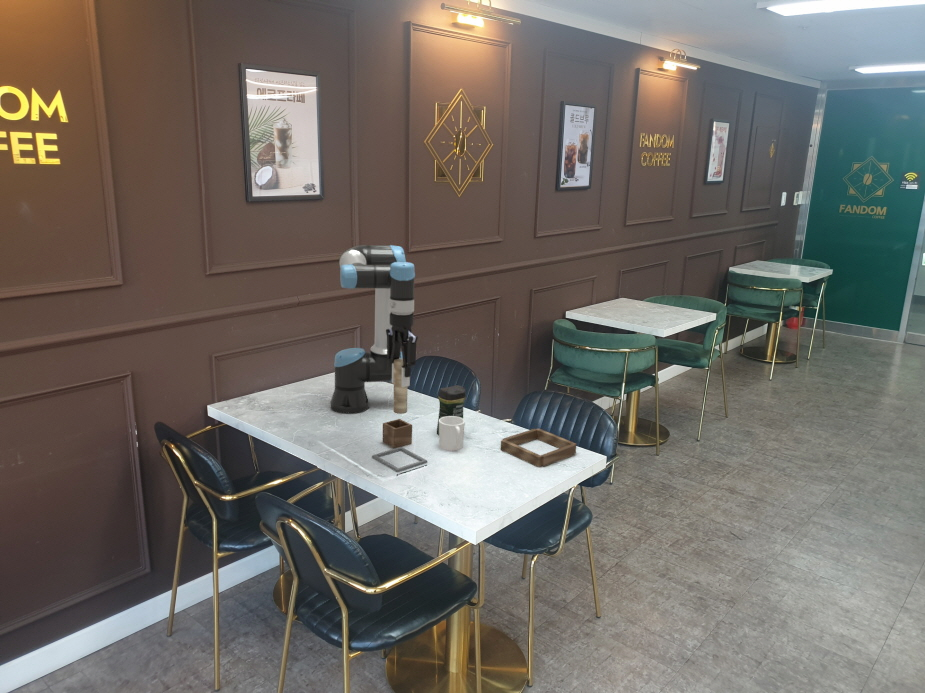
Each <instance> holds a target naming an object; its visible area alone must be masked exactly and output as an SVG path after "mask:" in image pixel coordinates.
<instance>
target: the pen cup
mask: <svg viewBox="0 0 925 693" xmlns="http://www.w3.org/2000/svg"><path fill="white" fill-rule="evenodd" d="M382 443H383V444H385V445H387V446H389V447H390V448H392V449H395V448H399V447H403V448H404V447H406V446H410V445H412V444H413V424H411V423H409V422H407V421H405V420H404V419H401V418H396V419H394V420H390V421H386V422H382Z"/></svg>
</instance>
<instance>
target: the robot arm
mask: <svg viewBox="0 0 925 693" xmlns="http://www.w3.org/2000/svg"><path fill="white" fill-rule="evenodd" d="M338 263H339V268H340V269H339V271H340V272H339V273H340V277H339V278H340V286H341V288H343V289H351V290H352V289H353V290H354V289H374V290H375V294H374V295H375V297H374V298H375V300H374V302H375V303H374V343H373V345H372V346H371V347H370V351H369V352H366V351H365V349H364V348H362V347H352V348H351V347H350V348H345V349H342V350H340V351H338V352H337V353H336V354H335V356H334V364H333V366H334V390H333V392H332V396H331V400H330V401H329V405H330V406H329V408H330V410H331V411H333V412H335V413H338V414H339V413H340V414H346V415H347V414H359V413H362V412H365V411H367V410H369V407H370V401H369V397H368V395H367V391H366V387H365V383H392V384H394V360H395V359H403V366H402V380H401V387H407V386H408V387H410V386H411V385H410V381H411V368H412V367H415V366H416V365H417V364H416V361H417V358H416V357H417V342H418V335H414V334H413V331H412V326H414V324H415V320H414V319H415V316H414V315H415V314H414V312H415V277H416V272H415V264H414V263H412V262H409V261H407V260H406V255H405V250H404V248H403V247H402V246H398V245H393V244H390V245H389V244H388V245H387V244H383V245H381V244H377V245H376V244H371V245H370V244H369V245H368V244H361V245H356V246H353V247H351V248H348V249H347V250H345V251H344V252H343V253H342V254H341V255H340V258H339V261H338Z"/></svg>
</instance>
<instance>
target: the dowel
mask: <svg viewBox="0 0 925 693" xmlns="http://www.w3.org/2000/svg"><path fill="white" fill-rule="evenodd" d="M402 366H403V359H395V360H394V383H393V403H392V404H393V405H392V406H393V410H392V411H393V413H394V414H396V415H397V414H398V415H402V414H404V415H405V414H406V413H408V387H409V386H407V387H401V380H402Z"/></svg>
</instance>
